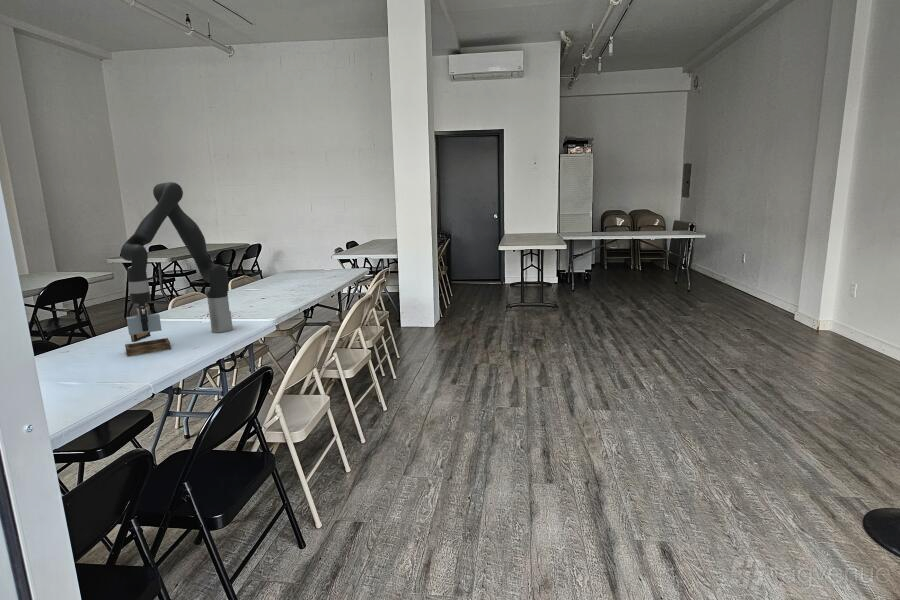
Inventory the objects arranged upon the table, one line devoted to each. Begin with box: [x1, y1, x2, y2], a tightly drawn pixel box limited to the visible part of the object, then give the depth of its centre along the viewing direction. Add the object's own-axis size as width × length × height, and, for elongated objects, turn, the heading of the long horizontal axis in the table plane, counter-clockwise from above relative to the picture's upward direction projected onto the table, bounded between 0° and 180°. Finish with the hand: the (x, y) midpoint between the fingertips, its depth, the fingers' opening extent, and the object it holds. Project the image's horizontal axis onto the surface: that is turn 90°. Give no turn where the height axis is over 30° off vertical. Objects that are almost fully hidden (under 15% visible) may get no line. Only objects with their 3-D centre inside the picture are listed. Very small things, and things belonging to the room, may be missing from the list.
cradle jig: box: [124, 337, 172, 357], centre depth 222 cm, size 16×9×3 cm, turn 125°
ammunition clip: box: [130, 314, 151, 343], centre depth 241 cm, size 11×2×12 cm, turn 174°
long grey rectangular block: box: [126, 312, 162, 336], centre depth 220 cm, size 12×4×7 cm, turn 125°
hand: (145, 329), depth 220 cm, fingers closed on long grey rectangular block, 4 cm apart
